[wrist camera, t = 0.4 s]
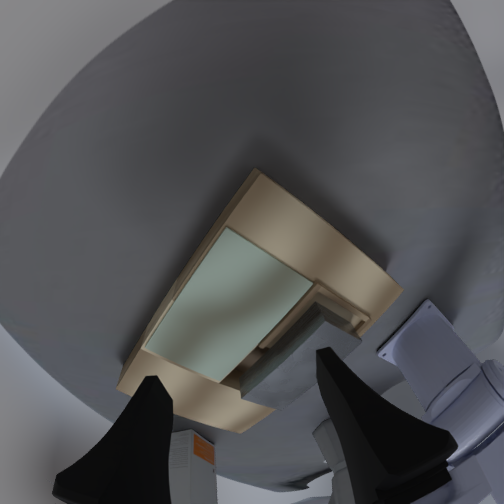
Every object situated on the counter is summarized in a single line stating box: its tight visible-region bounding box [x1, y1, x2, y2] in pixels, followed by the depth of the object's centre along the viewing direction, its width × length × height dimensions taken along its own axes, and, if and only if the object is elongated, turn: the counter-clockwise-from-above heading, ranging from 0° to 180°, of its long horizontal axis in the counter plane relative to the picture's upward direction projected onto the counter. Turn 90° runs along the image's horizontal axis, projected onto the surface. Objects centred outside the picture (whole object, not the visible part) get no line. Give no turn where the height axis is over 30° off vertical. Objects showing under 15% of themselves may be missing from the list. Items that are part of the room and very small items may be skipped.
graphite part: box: [239, 301, 362, 410], centre depth 19 cm, size 4×9×2 cm, turn 144°
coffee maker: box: [312, 418, 355, 504], centre depth 24 cm, size 15×9×18 cm, turn 120°
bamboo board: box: [116, 168, 404, 434], centre depth 21 cm, size 14×22×3 cm, turn 144°
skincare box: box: [169, 429, 218, 504], centre depth 24 cm, size 6×4×12 cm
